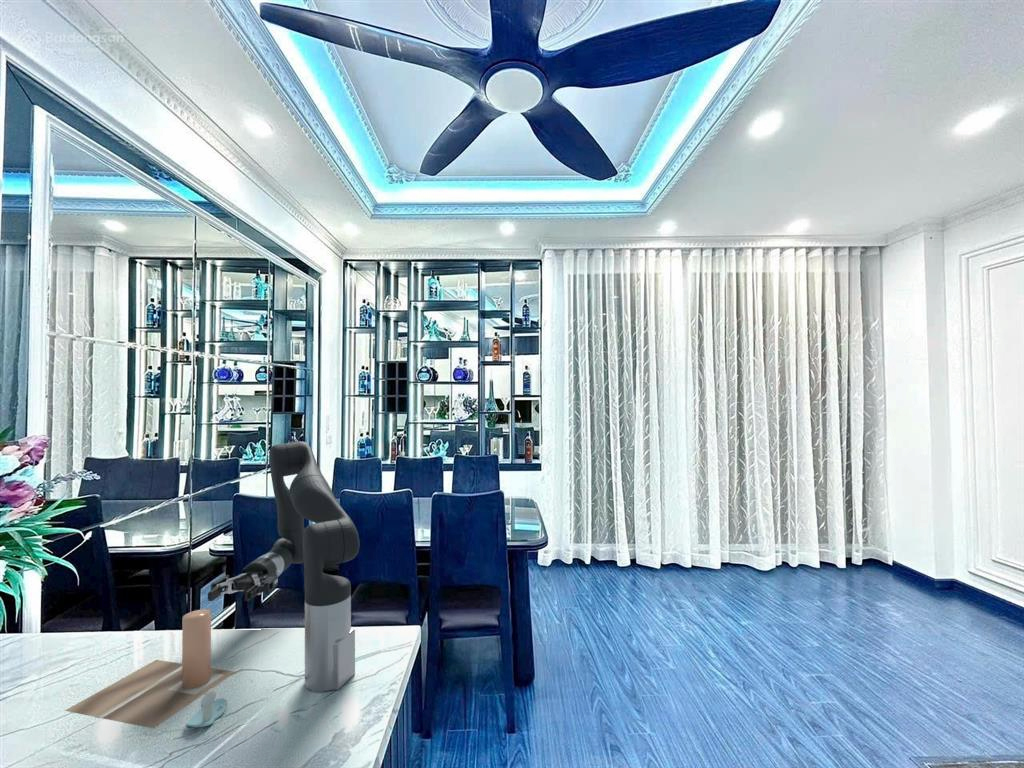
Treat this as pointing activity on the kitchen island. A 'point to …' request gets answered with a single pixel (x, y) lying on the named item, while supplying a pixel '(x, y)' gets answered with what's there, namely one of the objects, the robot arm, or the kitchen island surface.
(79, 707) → the board
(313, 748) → the kitchen island surface
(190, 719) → the pacifier
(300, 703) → the kitchen island surface
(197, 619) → the cylinder
